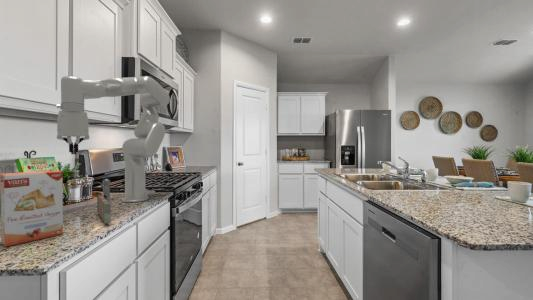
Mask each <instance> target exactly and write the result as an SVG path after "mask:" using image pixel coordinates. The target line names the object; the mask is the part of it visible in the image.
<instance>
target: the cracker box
mask: <svg viewBox="0 0 533 300" xmlns="http://www.w3.org/2000/svg"><path fill="white" fill-rule="evenodd" d="M63 180H64V179H63V171H61V170H58V169H57V170H39V171H35V170H33V171H23V172H21V171H20V172H8V173H0V243H1V244H2V245H3V246H4V247H10V246H11V247H12V246H14V245H20V244H24V243H28V242H29V243H30V242H33V241H39V240H42V239H46V238H51V237H57V236H60V235H63V234H64V221H63V219H64V215H63V214H64V209H63V208H64V207H63V206H64V205H63V204H64V202H63V201H64V200H63V199H64V195H63V194H64V193H63V192H64V189H63V188H64V187H63V184H64V183H63Z"/></svg>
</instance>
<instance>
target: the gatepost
mask: <svg viewBox="0 0 533 300" xmlns="http://www.w3.org/2000/svg"><path fill="white" fill-rule="evenodd" d="M101 182H102V183H101V184H102V195H103V197H104V198H105V199H106V200H107V201H108V202H110V203H111V186H110V185H111V180H110V179H109V178H103V180H102V181H101Z"/></svg>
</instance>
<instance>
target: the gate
mask: <svg viewBox="0 0 533 300" xmlns="http://www.w3.org/2000/svg"><path fill="white" fill-rule="evenodd" d="M96 196H97V197H96V198H97V199H96V200H97V201H96V202H97V203H96V204H97V206H96V207H97V209H96V210H97V213H98V214H99V216H100V218H101V220H102V221H103V223H104V224H105V225H106V224H111V222H112V221H111V220H112V218H111V217H112V216H111V215H112V213H111V211H112V210H111V201H110V202H108V201H107V200H106V199H105V198H104V197H103V193H98V194H97V195H96Z"/></svg>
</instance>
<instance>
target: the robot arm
mask: <svg viewBox="0 0 533 300" xmlns="http://www.w3.org/2000/svg"><path fill="white" fill-rule="evenodd" d="M133 95H134V96H135V95H139V103H140V105H141V109H142V114H141V117H140V119H139V120H138V123H137V124H136V126H135V127H134V131H133V134H134V136H135V137H134V138H129V139H127V140H125V141H123V143H122V148H121V151H122V154H123V159H124V197H122V198H121V202H122V203H140V202H145V201H147V200H149V198H150V197H149V196H150V195H151V196H152V195H155V194H156V191H155V190H147V189H146V162H145V160H144V158H152V157H154V156H155V155H156V154H157V153H158V151H159V149H160V147H161V144H162V142H163V140H164V137H165V135H166V127H165V125H164V124H163V123H162V122H159V119H160V118H159V117H160V116H159V114H158V111H157V109H156V107H166V106H168V105H169V103H170V102H171V101H170V100H171V98H170V97H171V96H170V95H169V93H168V91H167V90H166V89H165V88H164V87H163V86H162V85H161V84H160V83H159V82H158V81H157V80H155V79H154V78H153V77H152V76H149V75H142V76H141V75H140V76H132V77H131V76H130V77H129V76H128V77H114V78H107V79H100V80H99V79H98V80H94V79H85V78H81V77H77V76H72V75H71V76H70V75H65V76H62V77H61V79H60V101H61V103H60V104H56V109H60V110H58V115H57V123H56V124H57V125H56V126H57V127H56V131H57V135H56V139H57V140H61V141H65V142H66V143H67V144H68V150H69V151H68V153H71V155H77V153H79V144H81V142H83V141H85V140H90V135H89V134H90V133H89V132H90V131H89V129H90V127H89V118H88V113H87V112H86V111H85V100H90V99H91V100H93V99H100V98H110V97H111V98H113V97H115V98H117V97H125V96H133ZM72 137H75V142H73V141H72Z"/></svg>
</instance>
